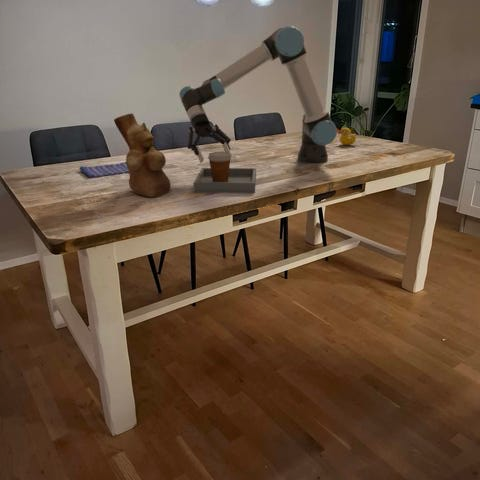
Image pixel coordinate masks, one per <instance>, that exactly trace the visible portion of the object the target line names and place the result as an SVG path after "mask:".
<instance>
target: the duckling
mask: <svg viewBox="0 0 480 480" xmlns="http://www.w3.org/2000/svg"><path fill="white" fill-rule="evenodd" d="M351 132H352V130H351V129H350V128H348V127H342V128H341V129H340V130H339V128H337V134H339V135H341V136H340V137H339V142H340V143H341V145H344V146H351V145H354V144H355V143H356V139H357V136H356V134H355V133H353V134H351ZM350 134H351V136H350V137H348V136H349V135H350Z"/></svg>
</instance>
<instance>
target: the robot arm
mask: <svg viewBox="0 0 480 480" xmlns="http://www.w3.org/2000/svg"><path fill="white" fill-rule="evenodd" d="M306 56H307V49H306V47H305V38H304V35H303V33H302V32H301V30H300V29H298V28H297V27H296V26H293V25H287V26H283V27H280V28H278V29H276V30H275V31H274V32H272V34H270V35H269V36H268V37H267V38H265V39H264V40H263V41H261V44H260V45H259V46H258V47H256V48H254V49H252V50H251V51H250V52H248V53H247V54H245V55H244V56H242V57H240V58H239V59H237V60H236V61H234V62H233V63H232V64H229V65H228V66H227V67H225V68H224V69H223V70H220V71H219V72H218V73H216V74H215V75H213V76H211V77H210V78H208V79H206V80H204V81H202V82H203V83H202V84H201V85H200V86H198V87H196V88H195V87H194V86H193V85H188V86H187V85H186V86H184V87H183V88H181V89H180V91H179V97H180V101H181V103H182V106H183V108H184V110H185V112H186V114H187V117H188V119H189V121H190V123H191V126H190V127H188V130H187V132H188V141H187V149H188V150H190V149H191V151H192V152H193V153H194V155H195V156H196V157H198V158H197V159H198V161H199V163H203V161H204V158H205V157H204V156H203V154H202V151H201V149H200V147H199V145H198V143H199V141H200V138H212V139H214V140H215V141H217V142H218V143H220V144H221V145H222V148H223V150H224V151H223V152H228V153H230V155H231V157H232V152H231V147H230V142H232V141H231V140H232V139H231V138H230V137H229V136H228V135H227V134H226V133H224V131H223V130H222V129H220V127H219V126H218V124H214V126H212V125H211V124H210V120H209V118H208V116H207V113H206V111H205V109H204V107H203V105H205V104H207V103H209V102H211V101H214V100H216V99H217V98H220V97H222V96H224V95H225V93H226V90H225V89H226V88H228V87H230V86H231V85H234V84H235V83H236V82H238V81H239V80H241V79H242V78H244V77H245V76H247V75H248V74H250V73H251V72H253V71H255V70H256V69H258V68H259V67H262V65H264V64H266V63H268V62H269V61H271V62H273V61H275V60H276V59H278V58H279V61H280V63H281V65H282V66H284V67H286V69H287V71H288V73H289V77H290V79H291V82H292V84H293V86H294V89H295V92H296V95H297V98H298V100H299V103H300V105H301V108H302V110H303V113H304V114H303V115H302V125H301V126H302V127H301V128H302V130H301V131H302V132H301V145H300V148H299V151H298V153H297V161H299V162H303V163H312V164H313V163H316V164H319V163H324V162H328V158H329V157H328V151H327V147H326V146H327V145H330V144H332V143H333V141H334V140H335V139H336V137H337V134H338V132H337V129H338V128H337V127H336V124H335V123H334V122H333V121H332V118H331V116H330V113H329V111H328V109H327V110H326V109H324V107H323V103H322V101H321V98H320V96H319V92H318V90H317V88H316V85H315V82H314V80H313V77H312V73H311V71H310V68H309V66H308V62H307V60H306ZM194 133H195V134H196V135H197V136H196V138H195V140H194V142H193V138H194Z"/></svg>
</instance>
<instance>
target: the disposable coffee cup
mask: <svg viewBox="0 0 480 480" xmlns="http://www.w3.org/2000/svg"><path fill="white" fill-rule="evenodd" d="M207 159H208V161H209V168H211V174H212V180H213V182H228V177H229V168H231V167H230V165H231V159H232V156H231V155H230V153H228V152H225V151H214V152H213V151H212V152H210V153H208V156H207Z"/></svg>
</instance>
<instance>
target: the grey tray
mask: <svg viewBox="0 0 480 480" xmlns="http://www.w3.org/2000/svg"><path fill="white" fill-rule="evenodd" d="M256 183H257V168H255V167H229V177H228V182H213V180H212V174H211V168H210V167H201V168H200V170H199V173H198V174H197V176H196V178H195V179H194V181H193V189H194V190H193V191H194V193H210V194H211V193H212V194H213V193H215V194H216V193H217V194H218V193H220V194H221V193H225V194H226V193H227V194H231V193H233V194H234V193H235V194H240V193H241V194H246V193H247V194H255V193H256Z"/></svg>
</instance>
